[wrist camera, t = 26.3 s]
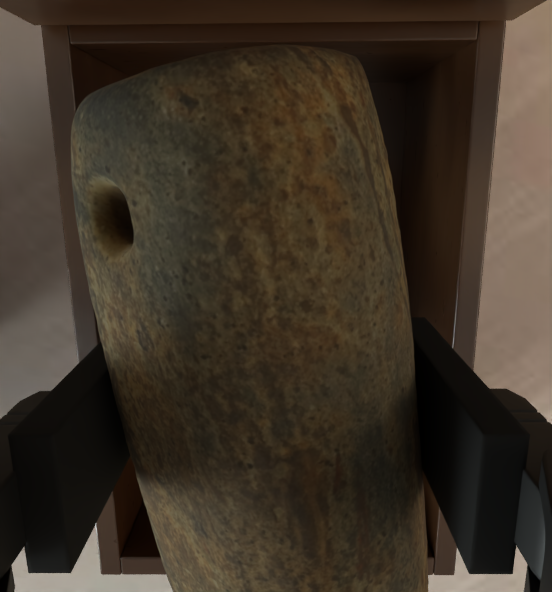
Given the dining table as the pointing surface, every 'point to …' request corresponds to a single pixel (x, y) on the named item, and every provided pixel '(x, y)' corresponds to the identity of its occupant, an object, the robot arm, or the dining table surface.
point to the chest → (402, 162)
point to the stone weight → (256, 319)
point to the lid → (260, 11)
